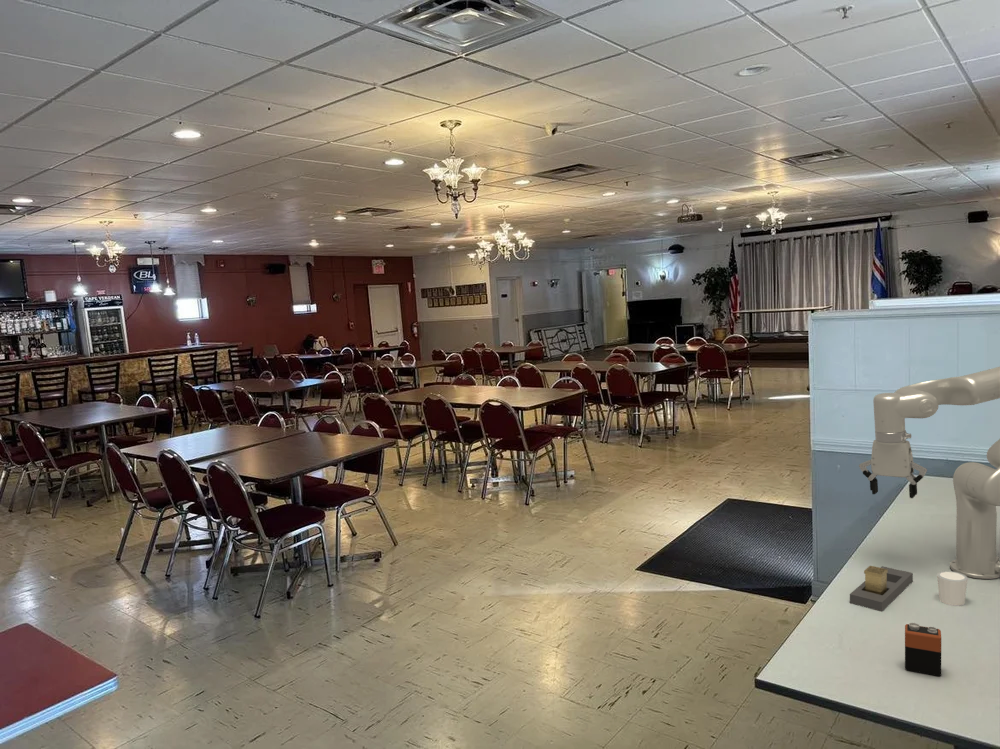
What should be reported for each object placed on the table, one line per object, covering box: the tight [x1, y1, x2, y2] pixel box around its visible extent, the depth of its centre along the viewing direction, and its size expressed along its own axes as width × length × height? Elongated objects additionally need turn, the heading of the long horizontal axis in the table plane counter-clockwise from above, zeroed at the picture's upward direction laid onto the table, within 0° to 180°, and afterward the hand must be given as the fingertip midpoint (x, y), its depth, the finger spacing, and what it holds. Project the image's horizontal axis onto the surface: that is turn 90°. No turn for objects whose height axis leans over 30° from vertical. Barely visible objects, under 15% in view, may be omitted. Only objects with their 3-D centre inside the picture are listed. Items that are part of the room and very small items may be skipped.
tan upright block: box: [863, 565, 888, 595], centre depth 188 cm, size 4×4×8 cm
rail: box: [849, 565, 914, 612], centre depth 192 cm, size 8×24×2 cm, turn 133°
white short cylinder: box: [936, 570, 969, 607], centre depth 184 cm, size 7×7×7 cm
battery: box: [904, 622, 942, 677], centre depth 154 cm, size 4×7×10 cm, turn 60°
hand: (893, 495), depth 200 cm, fingers open, 9 cm apart
